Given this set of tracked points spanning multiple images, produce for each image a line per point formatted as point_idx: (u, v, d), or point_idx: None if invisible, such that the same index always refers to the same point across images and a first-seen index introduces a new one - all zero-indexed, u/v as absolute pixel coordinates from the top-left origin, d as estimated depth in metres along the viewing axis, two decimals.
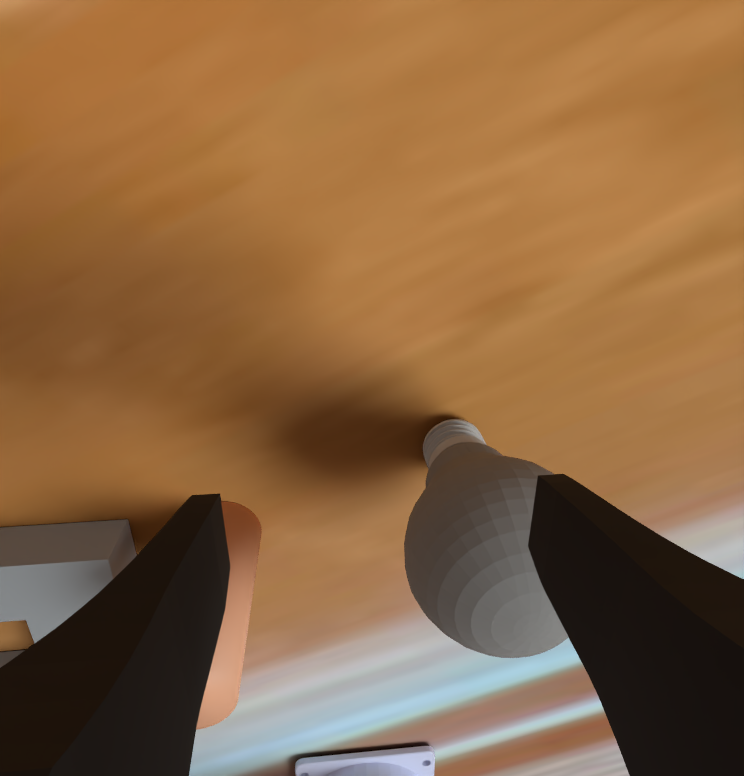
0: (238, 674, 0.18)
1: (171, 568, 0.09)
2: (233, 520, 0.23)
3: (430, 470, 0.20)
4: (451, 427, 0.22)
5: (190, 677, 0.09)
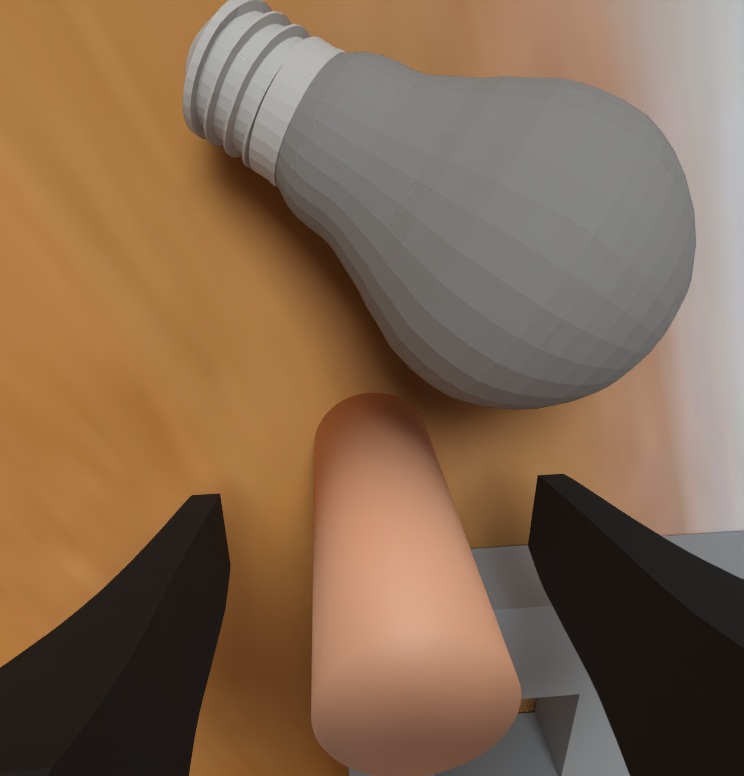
0: (399, 612, 0.08)
1: (171, 568, 0.09)
2: (319, 446, 0.14)
3: None
4: (207, 112, 0.10)
5: (190, 677, 0.09)
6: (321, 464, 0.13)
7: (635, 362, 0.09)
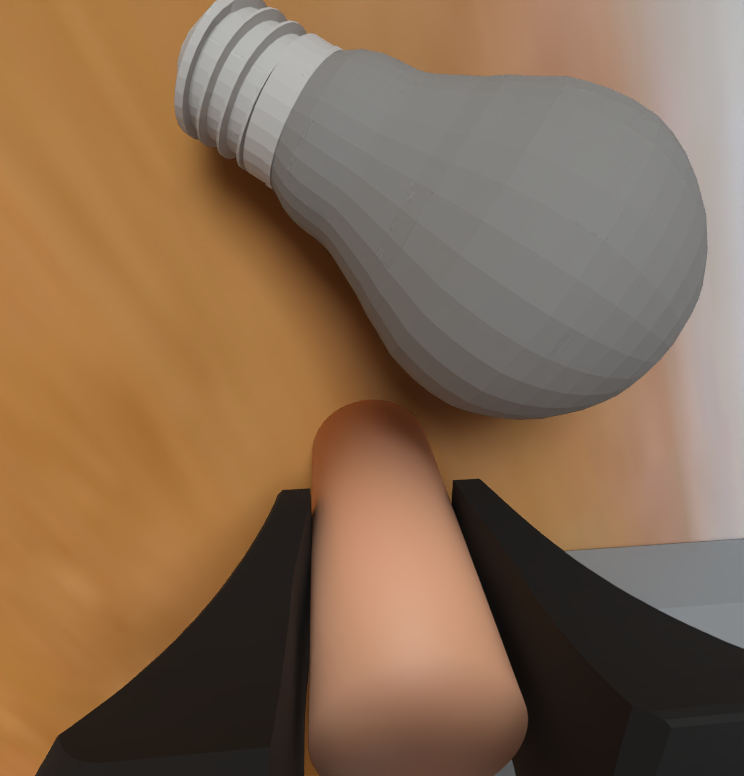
0: (401, 635, 0.08)
1: (290, 560, 0.09)
2: (317, 455, 0.14)
3: None
4: (200, 112, 0.09)
5: (302, 668, 0.10)
6: (319, 474, 0.13)
7: (644, 371, 0.09)
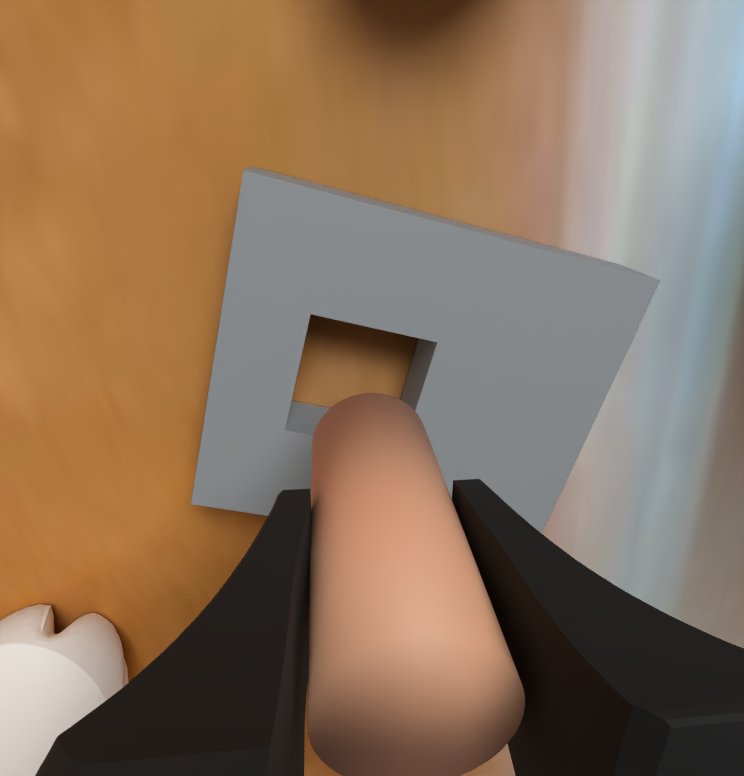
0: (392, 617, 0.08)
1: (290, 560, 0.09)
2: (315, 450, 0.14)
3: None
4: None
5: (302, 668, 0.10)
6: (316, 468, 0.13)
7: None
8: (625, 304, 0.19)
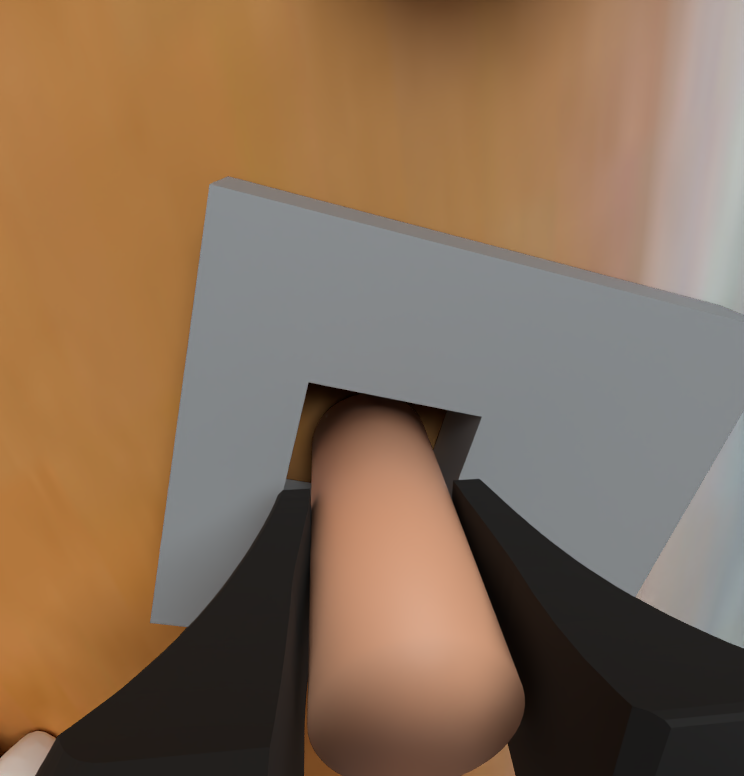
0: (392, 618, 0.08)
1: (290, 560, 0.09)
2: (315, 450, 0.14)
3: None
4: None
5: (302, 668, 0.10)
6: (317, 469, 0.13)
7: None
8: (739, 364, 0.14)
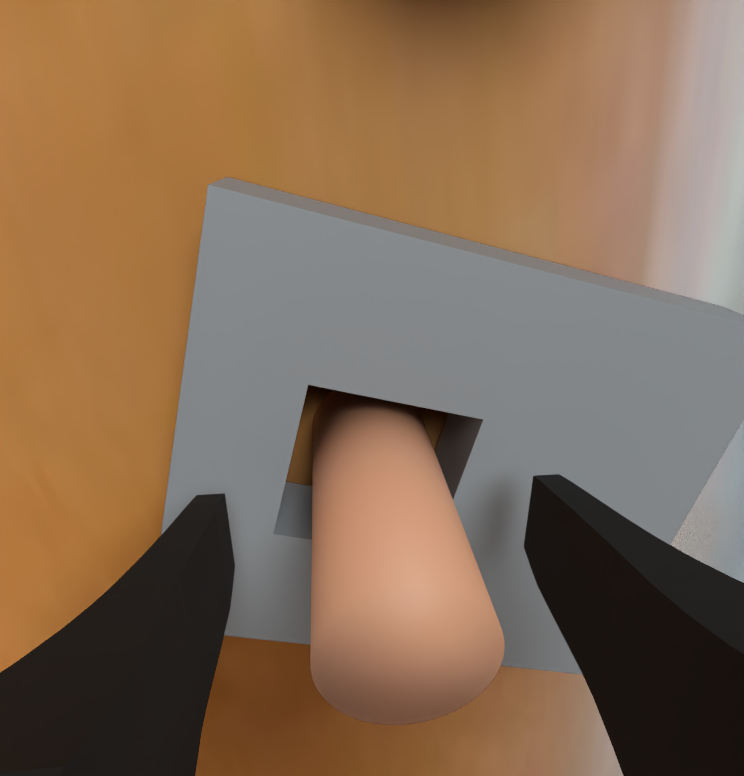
0: (386, 568, 0.09)
1: (178, 568, 0.09)
2: (316, 430, 0.15)
3: None
4: None
5: (196, 676, 0.09)
6: (318, 446, 0.14)
7: None
8: (742, 366, 0.14)
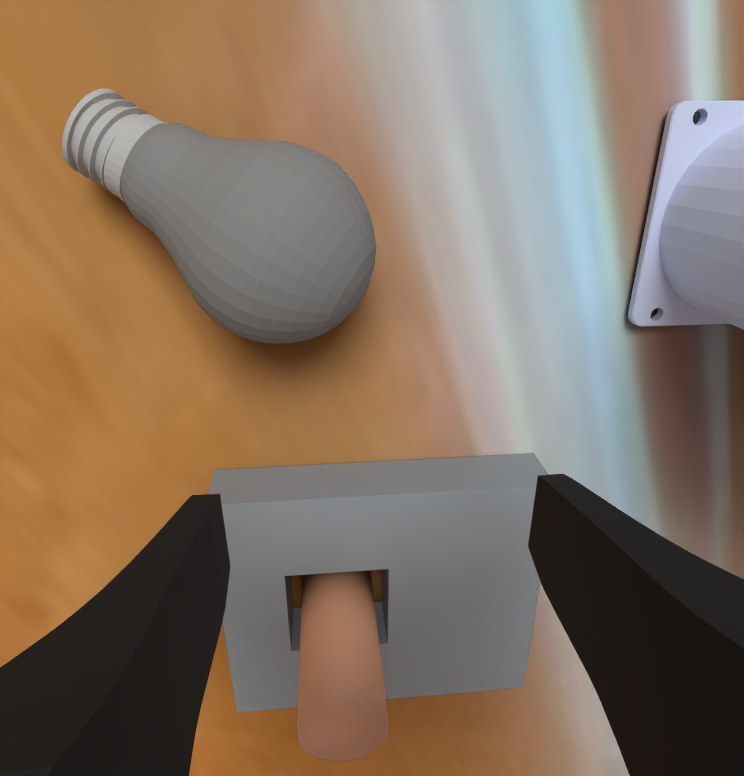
0: (320, 694, 0.19)
1: (171, 568, 0.09)
2: (302, 585, 0.25)
3: None
4: (78, 159, 0.16)
5: (190, 677, 0.09)
6: None
7: (330, 310, 0.16)
8: None
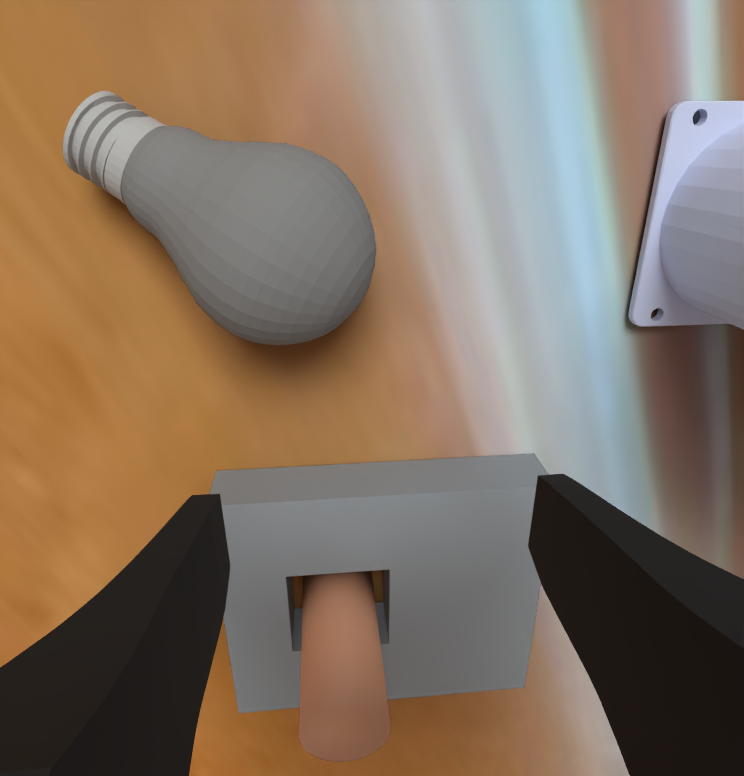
0: (322, 694, 0.19)
1: (171, 568, 0.09)
2: (303, 585, 0.25)
3: None
4: (79, 161, 0.16)
5: (190, 677, 0.09)
6: (303, 601, 0.24)
7: (330, 311, 0.16)
8: None
